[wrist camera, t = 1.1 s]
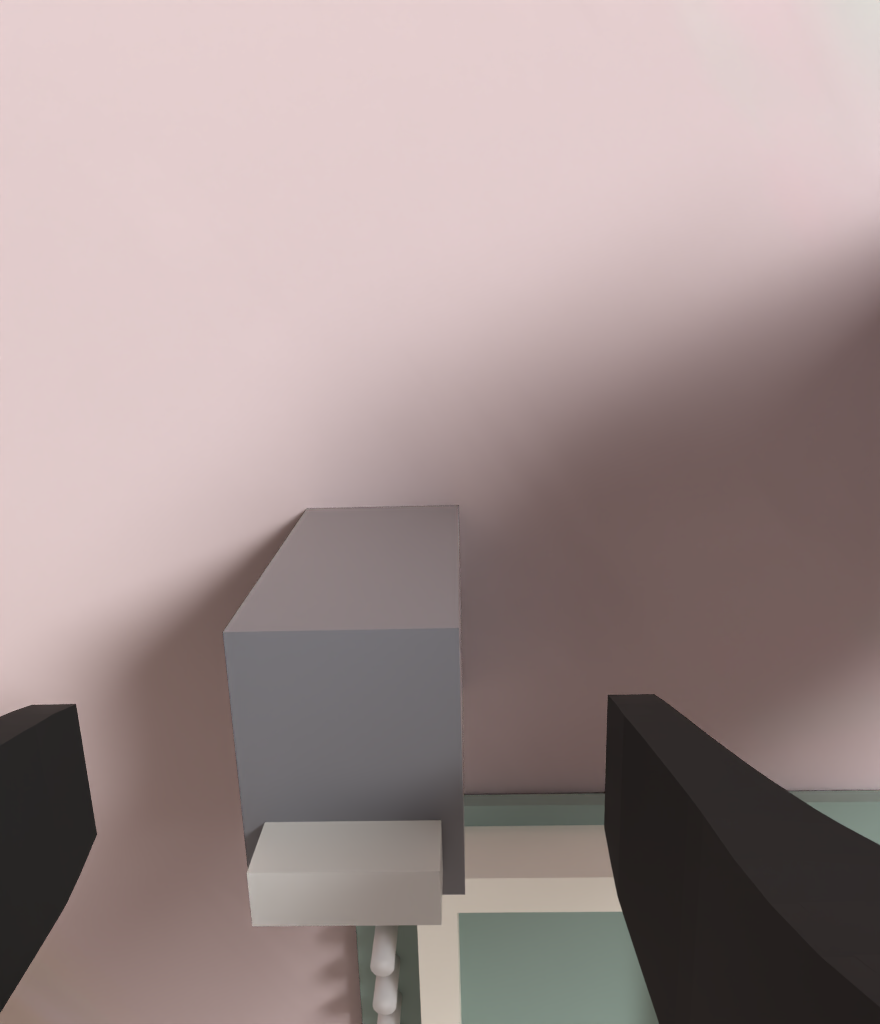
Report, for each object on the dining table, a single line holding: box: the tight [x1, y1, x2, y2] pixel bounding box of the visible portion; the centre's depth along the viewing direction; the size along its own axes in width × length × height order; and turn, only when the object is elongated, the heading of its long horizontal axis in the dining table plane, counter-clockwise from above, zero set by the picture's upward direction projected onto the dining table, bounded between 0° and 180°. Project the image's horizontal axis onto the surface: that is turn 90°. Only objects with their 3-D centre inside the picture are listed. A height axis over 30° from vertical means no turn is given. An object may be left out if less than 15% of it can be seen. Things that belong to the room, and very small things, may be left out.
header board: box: [356, 790, 880, 1024], centre depth 17 cm, size 12×9×3 cm
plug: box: [223, 505, 465, 927], centre depth 13 cm, size 3×4×7 cm
